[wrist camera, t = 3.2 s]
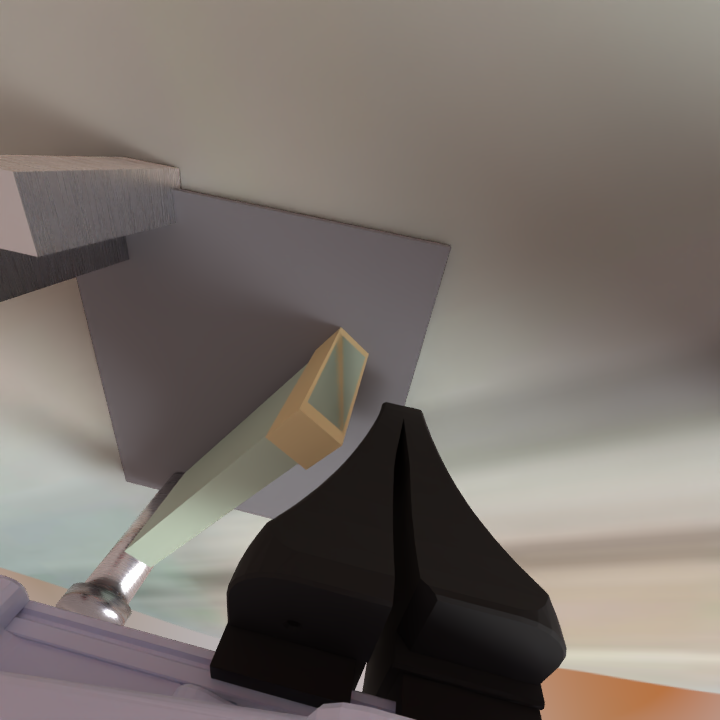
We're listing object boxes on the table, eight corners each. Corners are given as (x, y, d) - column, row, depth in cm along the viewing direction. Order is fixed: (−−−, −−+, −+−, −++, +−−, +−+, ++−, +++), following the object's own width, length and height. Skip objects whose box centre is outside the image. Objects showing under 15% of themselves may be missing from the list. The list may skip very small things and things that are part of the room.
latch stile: (179, 168, 11) (12, 171, 7) (186, 267, 13) (58, 325, 8) (98, 151, 11) (-117, 144, 7) (116, 252, 13) (-49, 300, 8)
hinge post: (212, 468, 18) (113, 611, 12) (214, 499, 19) (124, 642, 13) (167, 457, 18) (48, 593, 12) (172, 488, 19) (65, 626, 13)
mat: (449, 245, 11) (451, 248, 11) (365, 535, 18) (364, 542, 18) (59, 163, 12) (48, 163, 11) (131, 475, 19) (126, 481, 19)
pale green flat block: (368, 353, 13) (341, 445, 9) (210, 482, 18) (146, 579, 14) (341, 327, 12) (299, 408, 8) (187, 465, 17) (114, 559, 13)
